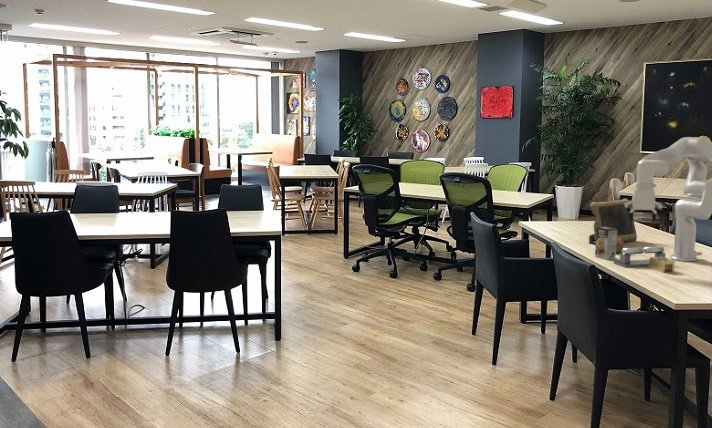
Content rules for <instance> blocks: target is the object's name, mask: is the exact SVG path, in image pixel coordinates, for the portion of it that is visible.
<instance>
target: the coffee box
mask: <svg viewBox="0 0 712 428" xmlns="http://www.w3.org/2000/svg"><path fill="white" fill-rule="evenodd" d="M617 230H618V229H614V228H610V227H607V226H605V227H597V231H596V242H595V247H594V249H595V251H594V252H595V253H594V255H595V256H594V257H595V258H599V259H602V260H605V261H606V260H607V261H608V260H609V259H611V260H616V255H617V254H616V253H617V252H616V244H617Z"/></svg>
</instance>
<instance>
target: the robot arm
mask: <svg viewBox="0 0 712 428" xmlns="http://www.w3.org/2000/svg"><path fill="white" fill-rule="evenodd" d="M684 158H686V159H685V160H686V161H687V163H688V167H689V169H688V174H687V177H686V180H685V184H684V188H683V194H684V195H685V196H686V197H688V198H681V199H678V200H677V201H676V203H675V206H674V213H675V214H674V215H675V234H674V244H673V245H674V247H673V254H672V255H670V256H669V259H670V260H673V261H677V262H678V261H679V262H696V261H697V260H698V257H697V256H702V255H703V252H702V251H697V250H695V249H696V237H697V236H696V235H697V234H696V233H697V224H696V221H695V219H696V220H708V219H709V218H710V217H711V216H712V180H709V179H706V178H707V175H708V167H707V166H706V164H705V163H704V162H712V141H710V140H708V139H707V138H704V137H700V136H699V137H697V136H695V137H694V136H693V137H692V136H685V137H684V136H683V137H681V138H680V139H678V140H677V141H675V142H674V143H672V144H671V145H670V146H669V147H667V148H664V149H660V150H658V151H654V152H651V153H649V154H648V155H646V156H644V157H643V158H641V160H638V163H637V167H636V168H637V169H636V170H637V171H636V182H635V183H636V184H635V188H633V193H632V198H631V200H629V202H627V203H625V204H624V205H625V207H626V209H627V210H628V211H629V212H630V216H629V219H631V221H633V219H634V211H636V210H638V211H639V210H643V211H644V210H645V211H652V213H651V222H652V223H655V221H656V219H657V214H658V213H659V212H660V211H661V210H662V209H663V206H664V205H663V204H661V203H660V202H657V201H656V192H655V189H654V188H657V184H655V183H654V178H655V176H656V177H657V176H658V177H660V176H662V177H663V176H665V175H667V173H669V171H670V166H669V165H673V164H676V163H679V162H681V161H682V160H683V159H684ZM693 198H696V199H693ZM629 204H631V209H630V208H629V207H628V205H629ZM656 206H658V207H657V208H656Z"/></svg>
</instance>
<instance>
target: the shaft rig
mask: <svg viewBox="0 0 712 428" xmlns="http://www.w3.org/2000/svg"><path fill="white" fill-rule="evenodd" d="M642 254H654V257H663V258H666V252H665V247H663V246H653V247H651V246H650V247H649V246H648V247H643V248H642V247H630V248H627V247H626V248H623V249H622V251H621V253H620V254H619V260H615V261H614V262H613V264H614V265H617V266H620V267H622V268H639V267H641V268H642V267H649V261H650V258H649V259H636V260H635V259H633V260H631V255H642Z"/></svg>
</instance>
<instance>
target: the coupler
mask: <svg viewBox="0 0 712 428" xmlns="http://www.w3.org/2000/svg"><path fill="white" fill-rule="evenodd" d="M649 259H650V261H649V266H648V268H649V269H651V270H653V271H657V272H660V273H663V274H664V273H665V271H668V272H671V273H674V272H675V265H676V264H675V262H676V260H674V259H671V258H667V257H665V258H663V257H655V256H651V257H650V256H649Z"/></svg>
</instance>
